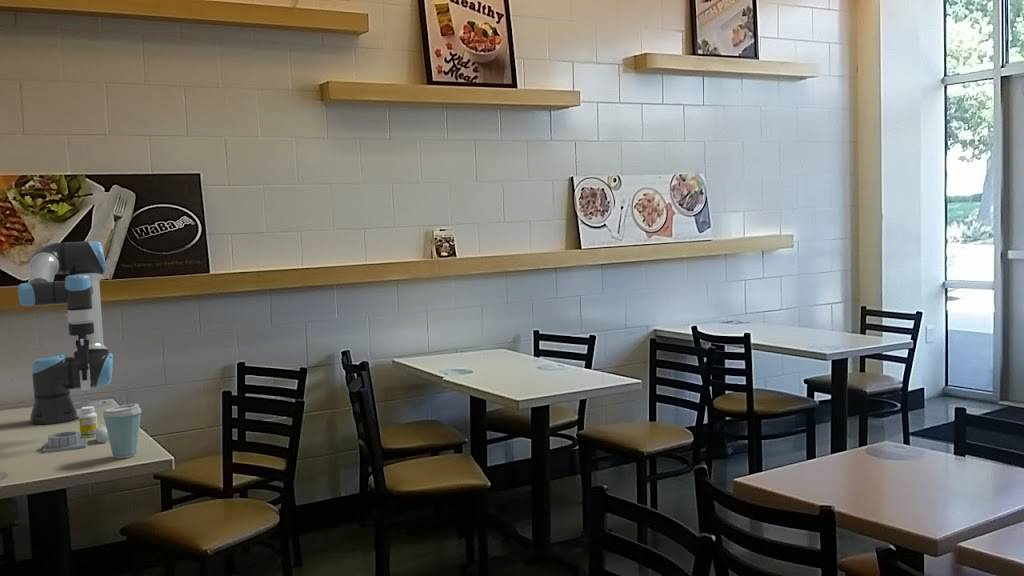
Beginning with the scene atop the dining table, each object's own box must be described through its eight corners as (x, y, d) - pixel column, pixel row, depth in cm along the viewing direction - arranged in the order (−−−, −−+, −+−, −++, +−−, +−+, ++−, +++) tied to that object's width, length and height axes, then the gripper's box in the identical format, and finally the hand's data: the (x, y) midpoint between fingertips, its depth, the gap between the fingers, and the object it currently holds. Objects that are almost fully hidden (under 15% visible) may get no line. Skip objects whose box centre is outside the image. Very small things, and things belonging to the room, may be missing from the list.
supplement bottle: (94, 437, 309) (92, 408, 309) (77, 438, 309) (75, 409, 308) (101, 434, 315) (99, 405, 314) (84, 434, 315) (82, 406, 314)
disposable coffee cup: (106, 462, 275) (102, 411, 274) (105, 454, 285) (102, 405, 284) (145, 457, 279) (141, 407, 278) (143, 449, 289) (140, 401, 288)
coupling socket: (44, 445, 301) (43, 433, 301) (86, 440, 306) (85, 428, 306) (42, 453, 290) (41, 440, 290) (85, 447, 295) (84, 435, 295)
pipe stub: (96, 438, 307) (95, 426, 307) (109, 437, 309) (108, 425, 309) (96, 443, 300) (95, 431, 300) (109, 442, 302) (109, 429, 301)
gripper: (69, 320, 319) (74, 382, 321) (67, 326, 296) (72, 394, 298) (93, 318, 322) (98, 380, 324) (93, 324, 299) (98, 391, 301)
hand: (85, 387), depth 311 cm, fingers open, 13 cm apart
